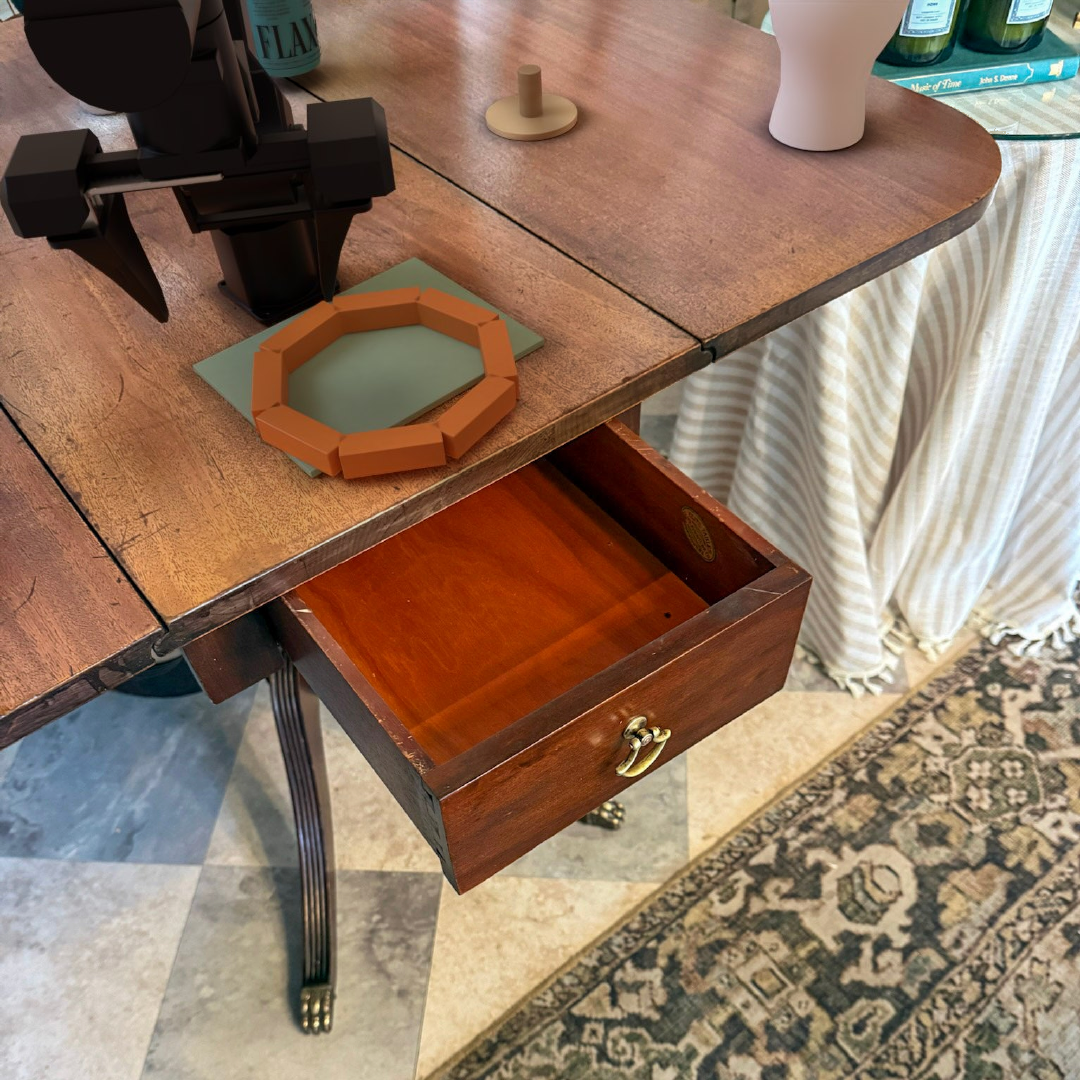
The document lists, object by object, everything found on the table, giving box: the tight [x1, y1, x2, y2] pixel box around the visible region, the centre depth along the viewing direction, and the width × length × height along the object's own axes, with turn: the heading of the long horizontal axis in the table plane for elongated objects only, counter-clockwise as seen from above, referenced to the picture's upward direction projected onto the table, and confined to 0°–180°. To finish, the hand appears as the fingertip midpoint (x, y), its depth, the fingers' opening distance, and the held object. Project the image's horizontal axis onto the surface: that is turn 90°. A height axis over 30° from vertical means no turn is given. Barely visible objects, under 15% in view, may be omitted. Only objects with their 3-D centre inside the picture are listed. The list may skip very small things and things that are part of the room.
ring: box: [251, 286, 521, 480], centre depth 62 cm, size 16×16×2 cm
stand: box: [484, 64, 578, 142], centre depth 86 cm, size 8×8×4 cm
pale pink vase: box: [767, 0, 911, 152], centre depth 78 cm, size 11×11×15 cm
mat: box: [192, 256, 545, 479], centre depth 65 cm, size 18×14×1 cm
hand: (247, 308), depth 57 cm, fingers open, 9 cm apart
